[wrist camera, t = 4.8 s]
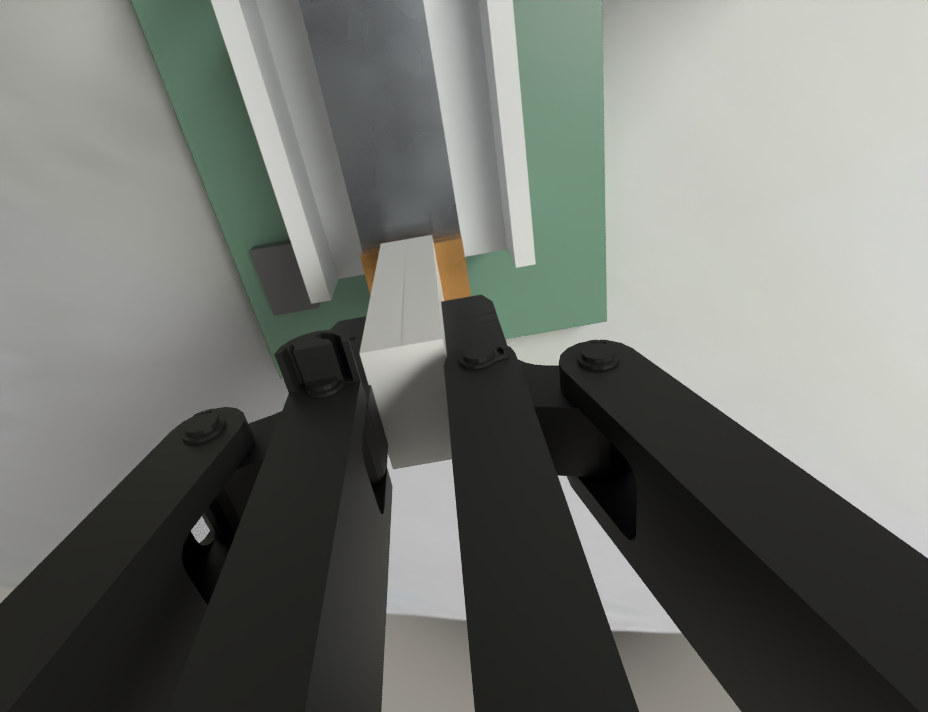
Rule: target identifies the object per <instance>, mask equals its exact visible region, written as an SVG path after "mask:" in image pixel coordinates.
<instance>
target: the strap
mask: <svg viewBox="0 0 928 712" xmlns="http://www.w3.org/2000/svg"><path fill="white" fill-rule="evenodd" d="M299 4H300V8H301V12H302V16H303V20H304V24H305V27H306V31H307V35H308V39H309V43H310V47H311V51H312V55H313V59H314V63H315V67H316V71H317V75H318V79H319V83H320V86H321V90H322V94H323V98H324V102H325V106H326V110H327V114H328V118H329V122H330V126H331V130H332V134H333V138H334V142H335V145H336V149H337V153H338V157H339V161H340V165H341V169H342V173H343V177H344V181H345V185H346V189H347V193H348V197H349V201H350V204H351V208H352V212H353V216H354V220H355V224H356V228H357V232H358V236H359V240H360V244H361V248H362V253H361V256H360V257H361V261H362V265H363V269H364V273H365V277H366V281H367V285H368V289H369V292H370V296H371V291H372V286H373V281H374V276H375V271H376V266H377V260H378V255H379V250H380V245H381V244H382V243H388V242H394V241H400V240H405V239H411V238H417V237H422V236H428V235H432V238H433V243H434V248H435V254H436V259H437V264H438V270H439V275H440V281H441V286H442V291H443V297H444V301H447V300H453V299H458V298H464V297H470V296H471V292H470V285H469V279H468V273H467V267H466V260H465V254H464V248H463V242H462V237H461V233H460V227H459V221H458V214H457V208H456V202H455V196H454V189H453V183H452V177H451V171H450V165H449V158H448V152H447V146H446V140H445V133H444V127H443V121H442V115H441V108H440V102H439V96H438V90H437V84H436V77H435V71H434V65H433V59H432V52H431V46H430V40H429V34H428V27H427V21H426V15H425V9H424V2H423V0H299Z"/></svg>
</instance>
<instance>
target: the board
mask: <svg viewBox="0 0 928 712" xmlns="http://www.w3.org/2000/svg"><path fill="white" fill-rule="evenodd" d="M131 2H132V4H133V7H134V9H135V12H136V14H137V17H138V19H139V22H140V25H141V27H142V30H143V32H144V35H145V37H146V40H147V42H148V45H149V47H150V50H151V52H152V55H153V57H154V60H155V62H156V65H157V67H158V70H159V73H160V75H161V78H162V80H163V83H164V85H165V88H166V90H167V93H168V95H169V98H170V100H171V103H172V105H173V108H174V110H175V113H176V115H177V118H178V121H179V123H180V126H181V128H182V131H183V133H184V136H185V138H186V141H187V143H188V146H189V148H190V151H191V153H192V156H193V158H194V161H195V163H196V166H197V168H198V171H199V174H200V176H201V179H202V181H203V184H204V186H205V189H206V191H207V194H208V196H209V199H210V201H211V204H212V206H213V209H214V211H215V214H216V216H217V219H218V222H219V224H220V227H221V229H222V232H223V234H224V237H225V239H226V242H227V244H228V247H229V249H230V252H231V254H232V257H233V259H234V262H235V264H236V267H237V270H238V272H239V275H240V277H241V280H242V282H243V285H244V287H245V290H246V292H247V295H248V297H249V300H250V302H251V305H252V307H253V310H254V312H255V315H256V318H257V320H258V323H259V325H260V328H261V330H262V333H263V335H264V338H265V340H266V343H267V345H268V348H269V350H270V353H271V355H272V358H273V360H274V363H275V366H276V368H277V371H278V373H279V376H280V378H283V376H282V373H281V371H280V368H279V366H278V363H277V360H276V358H275V355H274V354H275V352H276V351H277V350H278V349H279V348H280V347H281V346H282V345H284V344H285V343H287V342H288V341H290V340H292V339H294V338H296V337H299V336H301V335H303V334H307V333H311V332H315V331H322V330H330V329H331V328H332V327H333V326H334V325H335V324H336V323H337V322H338V321H342V320H348V319H354V318H359V317H365V316H367V312H368V307H369V302H370V292H369V289H368V285H367V281H366V277H365V273H364V269H363V265H362V261H361V257H360V256H361V253H362V248H361V244H360V240H359V236H358V232H357V228H356V224H355V220H354V216H353V212H352V208H351V204H350V201H349V197H348V193H347V189H346V185H345V181H344V177H343V173H342V169H341V165H340V161H339V157H338V153H337V149H336V145H335V142H334V138H333V134H332V130H331V126H330V122H329V118H328V114H327V110H326V106H325V102H324V98H323V94H322V90H321V86H320V83H319V79H318V75H317V71H316V67H315V63H314V59H313V55H312V51H311V47H310V43H309V39H308V35H307V31H306V27H305V24H304V20H303V16H302V12H301V8H300V4H299V0H131ZM423 2H424V9H425V15H426V21H427V27H428V34H429V40H430V46H431V52H432V59H433V65H434V71H435V77H436V84H437V90H438V96H439V102H440V108H441V115H442V121H443V127H444V133H445V140H446V146H447V152H448V158H449V165H450V171H451V177H452V183H453V189H454V196H455V202H456V208H457V214H458V221H459V227H460V233H461V237H462V242H463V248H464V254H465V260H466V267H467V273H468V279H469V285H470V292H471V296H476V295H483V296H485V297H486V298H488V299H490V300H491V301H493V304H494V307H495V310H496V313H497V316H498V319H499V322H500V325H501V328H502V331H503V334H504V337H505V339H509V338H515V337H520V336H526V335H532V334H537V333H543V332H549V331H555V330H560V329H566V328H572V327H577V326H583V325H589V324H595V323H600V322H606V321H607V302H606V233H605V164H604V95H603V26H602V0H423ZM388 456H389V453H388ZM389 458H390V457H389Z"/></svg>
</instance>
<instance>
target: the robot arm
mask: <svg viewBox="0 0 928 712" xmlns="http://www.w3.org/2000/svg"><path fill="white" fill-rule="evenodd" d="M274 355H275V358H276V360H277V363H278V366H279V368H280V371H281V373H282V376H283V379H284V381H285V384H286V386H287V389H288V392H289V395H288V397H287V400H286V403H285V405H284V408H283V410H282V411H281V412H279V413H276V414H274V415H272V416H269V417H266V418H263V419H260V420H258V421H255V422H252V423H249V424H248V422H247V420H246V418H245V416H244V413H243V412H241V411H240V410H238V409H237V408H229V407H223V408H217V409H209V410H205V412H203V411H202V412H200V413H197V414H195V415H194V416H193V417H191V418H189V419H188V420H186V421H184V422H182V423H181V424H180V425H178V426H177V427H176V428H175V429H173V430H172V431H171V432H170V433H169V434H168V435H167V436H166V437H165V438H164V439H163V440H162V441H161V442H160V443H159V444H158V445H157V446H156V447H155V448H154V449H153V450H152V451H151V452H150V453H149V454H148V455H147V456H146V457H145V458H144V459H143V460H142V461H141V462H140V463H139V464H138V465H137V466H136V467H135V468H134V469H133V470H132V471H131V472H130V473H129V474H128V475H127V476H126V477H125V478H124V479H123V480H122V481H121V482H120V483H119V484H118V486H117V487H116V488H115V489H114V490H113V491H112V492H111V493H110V494H109V495H108V496H107V497H106V498H105V499H104V500H103V501H102V502H101V503H100V504H99V505H98V506H97V507H96V508H95V509H94V510H93V511H92V512H91V513H90V514H89V515H88V516H87V517H86V518H85V519H84V520H83V521H82V522H81V523H80V524H79V525H78V526H77V527H76V528H75V529H74V530H73V531H72V532H71V533H70V534H69V535H68V536H67V537H66V538H65V539H64V540H63V541H62V542H61V543H60V544H59V545H58V546H57V547H56V548H55V549H54V550H53V551H52V552H51V553H50V554H49V555H48V556H47V557H46V558H45V559H44V560H43V561H42V562H41V563H40V564H39V565H38V566H37V567H36V568H35V569H34V570H33V571H32V572H31V573H30V574H29V575H28V576H27V577H26V578H25V579H24V580H23V581H22V582H21V583H20V584H19V585H18V586H17V587H16V588H15V589H14V590H13V591H12V592H11V593H10V594H9V595H8V597H6V598H5V599H4V600H3V602H2V603H0V712H381V705H382V685H383V665H384V664H383V663H384V644H385V625H386V605H387V585H388V565H389V545H390V525H391V505H392V483H391V479H390V476H389V473H388V469H387V455H388V453H389V457H390V460H391V464H392V467H393V469H397V468H403V467H409V466H414V465H420V464H426V463H432V462H438V461H443V460H449V459H452V464H453V475H454V486H455V497H456V508H457V519H458V530H459V541H460V552H461V563H462V574H463V585H464V596H465V607H466V618H467V629H468V640H469V651H470V661H471V672H472V684H473V695H474V706H475V712H639V710H638V708H637V705H636V702H635V699H634V696H633V693H632V690H631V687H630V684H629V681H628V678H627V676H626V673H625V670H624V667H623V664H622V661H621V658H620V655H619V652H618V649H617V647H616V644H615V641H614V638H613V635H612V632H611V629H610V626H609V623H608V620H607V617H606V615H605V612H604V609H603V606H602V603H601V600H600V597H599V594H598V591H597V589H596V586H595V583H594V580H593V577H592V574H591V571H590V568H589V565H588V562H587V560H586V557H585V554H584V551H583V548H582V545H581V542H580V539H579V536H578V533H577V531H576V528H575V525H574V522H573V519H572V516H571V513H570V510H569V507H568V505H567V502H566V499H565V496H564V493H563V490H562V487H561V484H560V481H559V478H558V476H557V475H561V476H567V478H568V480H569V483H570V485H571V487H572V488H573V490H574V491H575V492H576V494H577V495H578V496H579V498H580V499H581V500H582V502H583V503H584V504H585V505H586V507H587V508H588V509H589V511H590V512H591V513H592V515H593V516H594V517H595V519H596V520H597V521H598V523H599V524H600V525H601V527H602V528H603V529H604V531H605V532H606V533H607V535H608V536H609V537H610V538H611V540H612V541H613V542H614V544H615V545H616V546H617V548H618V549H619V550H620V552H621V553H622V554H623V556H624V557H625V558H626V560H627V561H628V562H629V564H630V565H631V566H632V568H633V569H634V570H635V572H636V573H637V574H638V575H639V577H640V578H641V579H642V581H643V582H644V583H645V585H646V586H647V587H648V589H649V590H650V591H651V593H652V594H653V595H654V597H655V598H656V599H657V601H658V602H659V603H660V605H661V606H662V607H663V608H664V610H665V611H666V612H667V614H668V615H669V616H670V618H671V619H672V620H673V622H674V623H675V624H676V626H677V627H678V628H679V630H680V631H681V632H682V634H683V635H684V636H685V638H686V639H687V640H688V641H689V643H690V644H691V645H692V646H693V648H694V649H695V651H696V652H697V653H698V655H699V656H700V657H701V659H702V660H703V661H704V663H705V664H706V665H707V666H708V668H709V669H710V671H711V672H712V673H713V674H714V676H715V677H716V678H717V680H718V681H719V682H720V684H721V685H722V686H723V688H724V689H725V690H726V692H727V693H728V694H729V696H730V697H731V698H732V699H733V701H734V702H735V704H736V705H737V706H738V708H739V709H740V710H741V711H742V712H928V558H926V557H925V556H924V555H922V554H921V553H919V552H918V551H917V550H915V549H914V548H912V547H911V546H910V545H908V544H907V543H905V542H904V541H903V540H901V539H900V538H898V537H897V536H895V535H894V534H893V533H891V532H890V531H888V530H887V529H886V528H884V527H883V526H881V525H880V524H879V523H877V522H876V521H874V520H873V519H872V518H870V517H869V516H867V515H866V514H865V513H863V512H862V511H860V510H859V509H858V508H856V507H855V506H853V505H852V504H851V503H849V502H848V501H846V500H845V499H843V498H842V497H841V496H839V495H838V494H836V493H835V492H834V491H832V490H831V489H829V488H828V487H827V486H825V485H824V484H822V483H821V482H820V481H818V480H817V479H815V478H814V477H813V476H811V475H810V474H808V473H807V472H806V471H804V470H803V469H801V468H800V467H798V466H797V465H796V464H794V463H793V462H791V461H790V460H789V459H787V458H786V457H784V456H783V455H782V454H780V453H779V452H777V451H776V450H775V449H773V448H772V447H770V446H769V445H768V444H766V443H765V442H763V441H762V440H761V439H759V438H758V437H756V436H755V435H754V434H752V433H751V432H749V431H748V430H746V429H745V428H744V427H742V426H741V425H739V424H738V423H737V422H735V421H734V420H732V419H731V418H730V417H728V416H727V415H725V414H724V413H723V412H721V411H720V410H718V409H717V408H716V407H714V406H713V405H711V404H710V403H709V402H707V401H706V400H704V399H703V398H701V397H700V396H699V395H697V394H696V393H694V392H693V391H692V390H690V389H689V388H687V387H686V386H685V385H683V384H682V383H680V382H679V381H678V380H676V379H675V378H673V377H672V376H671V375H669V374H668V373H666V372H665V371H664V370H662V369H661V368H659V367H658V366H657V365H655V364H654V363H652V362H651V361H649V360H648V359H647V358H645V357H644V356H642V355H641V354H640V353H638V352H637V351H635V350H634V349H633V348H631V347H629V346H626V345H624V344H622V343H619V342H613V341H609V340H590V341H587V342H582V343H578V344H576V345H574V346H571V347H569V348H567V349H566V350H565V351H564V352H563V353H562V354H561V355H560V360H559V366H545V365H534V364H529V363H525V362H523V361H520V360H518V359H517V357H516V354H515V352H514V351H513V350H512V348H511V347H509V346H507V343H506V340H505V337H504V334H503V331H502V328H501V325H500V322H499V319H498V316H497V313H496V310H495V307H494V304H493V301H491V300H490V299H488V298H486V297H485V296H483V295H476V296H470V297H464V298H458V299H453V300H447V301H444V297H443V291H442V286H441V281H440V275H439V270H438V264H437V259H436V254H435V248H434V243H433V238H432V235H428V236H422V237H417V238H411V239H405V240H400V241H394V242H388V243H382V244H381V245H380V250H379V255H378V260H377V266H376V271H375V276H374V281H373V286H372V291H371V296H370V302H369V307H368V312H367V316H365V317H359V318H354V319H348V320H342V321H338V322H337V323H336V324H335V325H334V326H333V327H332V328H331V329H330V330H322V331H315V332H311V333H307V334H303V335H301V336H299V337H296V338H294V339H292V340H290V341H288V342H287V343H285V344H284V345H282V346H281V347H280V348H279V349H278V350H277V351H276V352H275V354H274ZM201 516H202V517H203V519H204V520H205V522H206V524H207V526H208V527H209V529H210V532H209V533H208V535H207V536H206V538H205V539H204V540H203V541H202V542H200V543H198V542H197V541H196V539H195V538H194V536H193V534H192V533H191V529H192V528H193V527H194V525H195V524H196V523H197V521H198V520H199V519H200V517H201Z"/></svg>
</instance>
